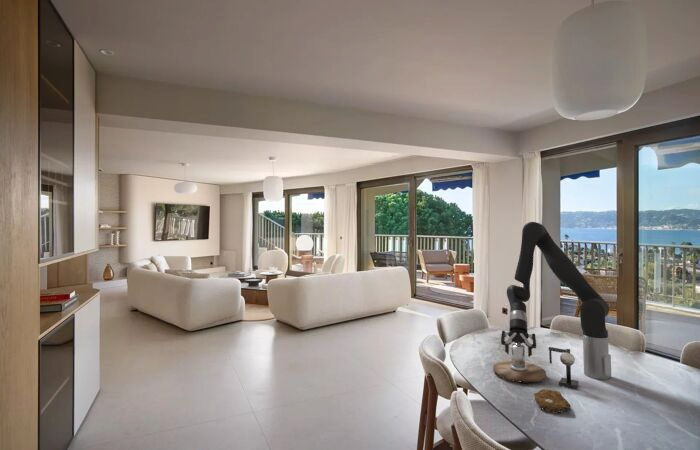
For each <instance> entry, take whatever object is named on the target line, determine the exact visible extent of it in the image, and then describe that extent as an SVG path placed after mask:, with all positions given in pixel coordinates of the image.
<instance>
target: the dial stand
mask: <svg viewBox="0 0 700 450" xmlns="http://www.w3.org/2000/svg"><path fill="white" fill-rule="evenodd" d="M548 351H549V353H548V354H549V355H548V356H549V357H548V358H549V360H548V361H549V364H551V365H552V362H553V360H552V352H556V353H560V354H561V355H560V357H559V360H560V362H561V363H562V364H563V365H564V366H565V369H566V370H565V371H566V372H565V373H566V375H565V376H566V377H560V378H561V379H560V380H559V381H558V386H559V387H562V386H564V388H567V387H568V389H571V390H577V389H578V387H579V386H580V385H579V384H580V381H579V380H577V379H572V369H571V366H572V365H574V363H575V360H576V359H575V357H574V355H573V353H571V349H570V348H565V349H564V348H558V347H552V346H549V347H548Z"/></svg>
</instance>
